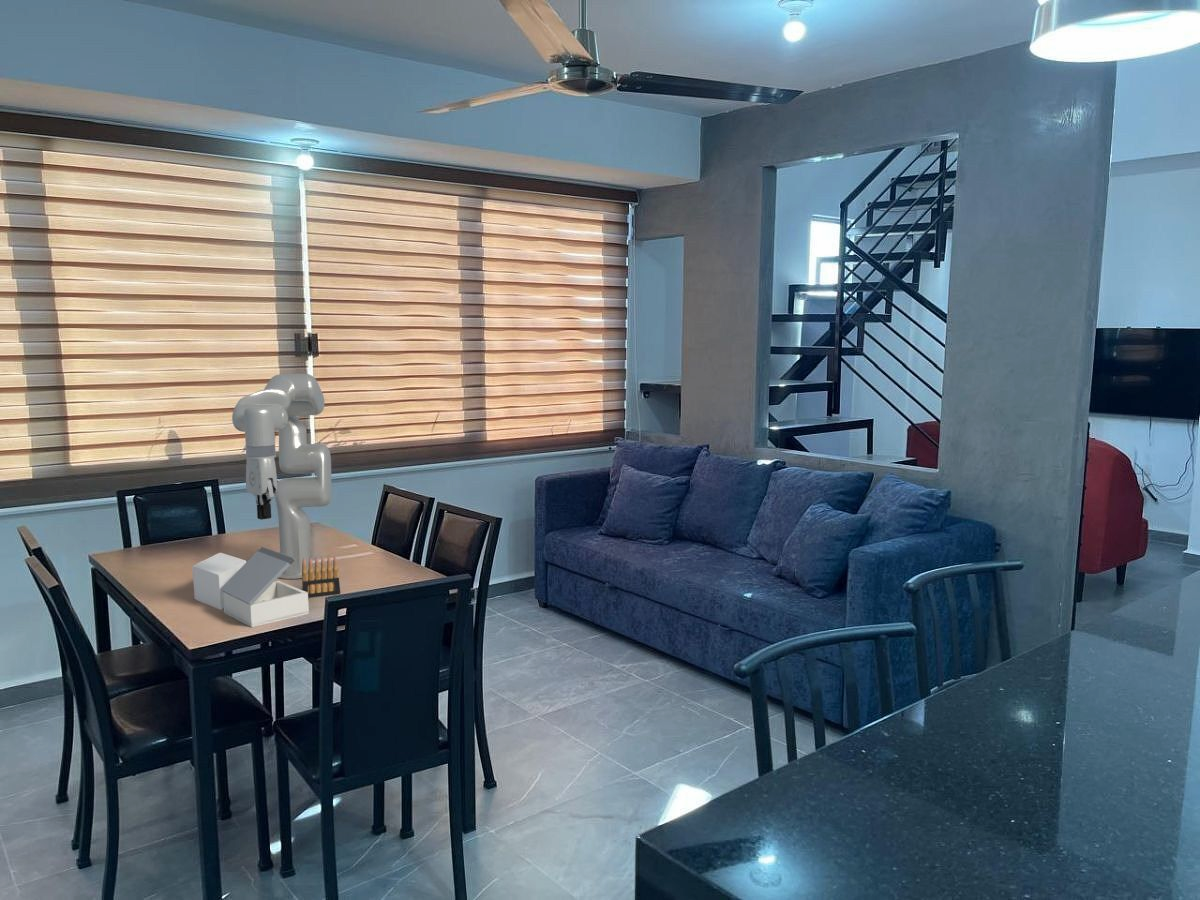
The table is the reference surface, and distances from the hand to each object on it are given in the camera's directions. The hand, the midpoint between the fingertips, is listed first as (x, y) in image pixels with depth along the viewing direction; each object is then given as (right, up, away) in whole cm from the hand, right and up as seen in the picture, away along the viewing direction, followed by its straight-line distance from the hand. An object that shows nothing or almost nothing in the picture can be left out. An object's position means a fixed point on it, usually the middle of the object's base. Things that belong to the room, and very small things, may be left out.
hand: (264, 518), depth 237 cm
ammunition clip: (+9, -25, +20) cm, 33 cm away
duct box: (-1, -27, +3) cm, 27 cm away
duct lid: (-2, -16, 0) cm, 16 cm away
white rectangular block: (-20, -25, +20) cm, 38 cm away
